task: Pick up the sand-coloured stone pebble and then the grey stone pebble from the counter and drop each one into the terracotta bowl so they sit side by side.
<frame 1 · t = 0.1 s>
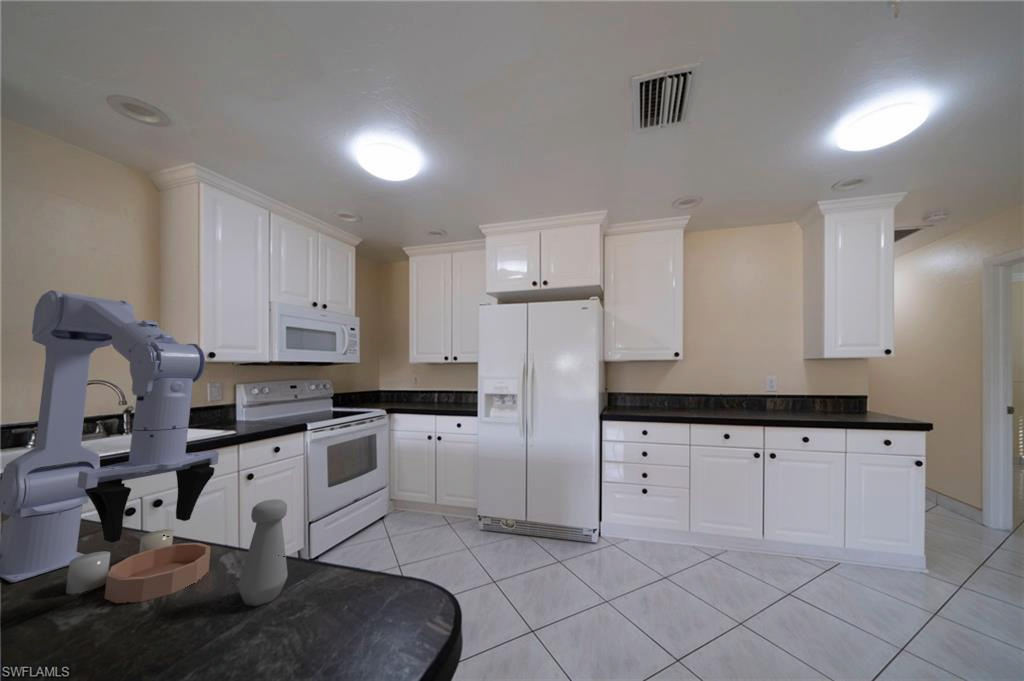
hand: (149, 529, 51), 10 cm above the countertop, tool pointing down, fingers open, 7 cm apart
bowl: (160, 580, 56), on the countertop
salt shaker: (262, 598, 52), on the countertop
pebble b: (86, 586, 54), on the countertop
pebble a: (154, 558, 63), on the countertop
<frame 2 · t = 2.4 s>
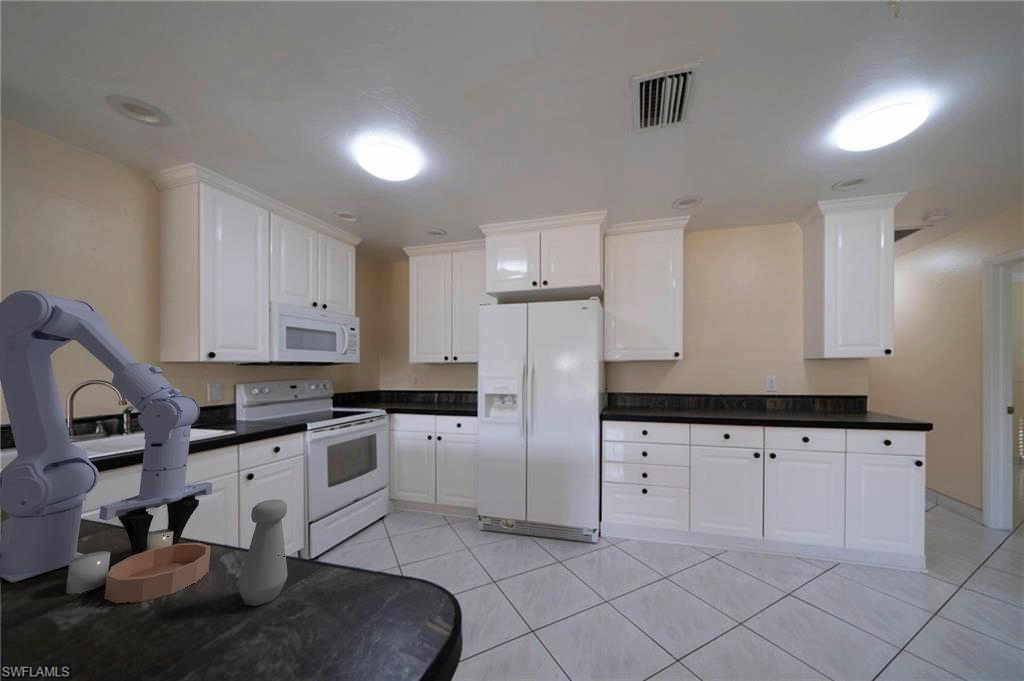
hand: (155, 549, 63), 1 cm above the countertop, tool pointing down, fingers closed on pebble a, 4 cm apart
pebble a: (155, 558, 63), on the countertop, touching gripper
everything else where it was.
when the fingers open (4 cm above the countertop, at t = 5.3 s): pebble a drops 2 cm, resting on bowl.
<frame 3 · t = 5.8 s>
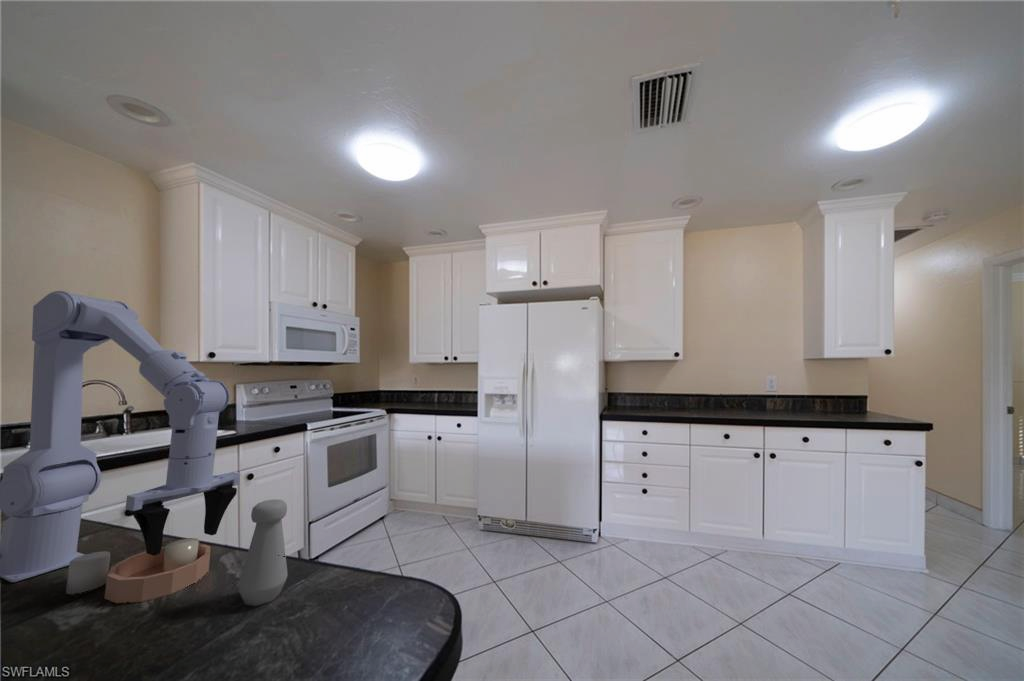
hand: (183, 543, 59), 4 cm above the countertop, tool pointing down, fingers open, 7 cm apart
pebble a: (179, 570, 58), resting on bowl
everything else where it was.
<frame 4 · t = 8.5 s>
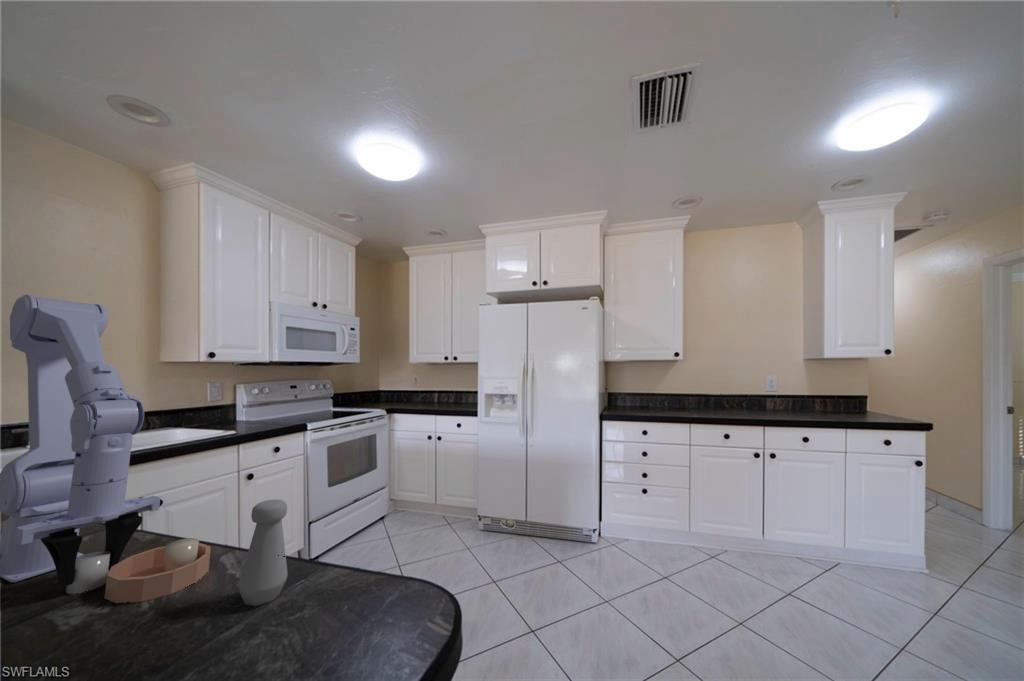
hand: (88, 575, 54), 1 cm above the countertop, tool pointing down, fingers closed on pebble b, 4 cm apart
pebble b: (87, 586, 54), on the countertop, touching gripper
everything else where it was.
when the fingers open (4 cm above the countertop, at t = 11.3 s): pebble b drops 3 cm, resting on bowl.
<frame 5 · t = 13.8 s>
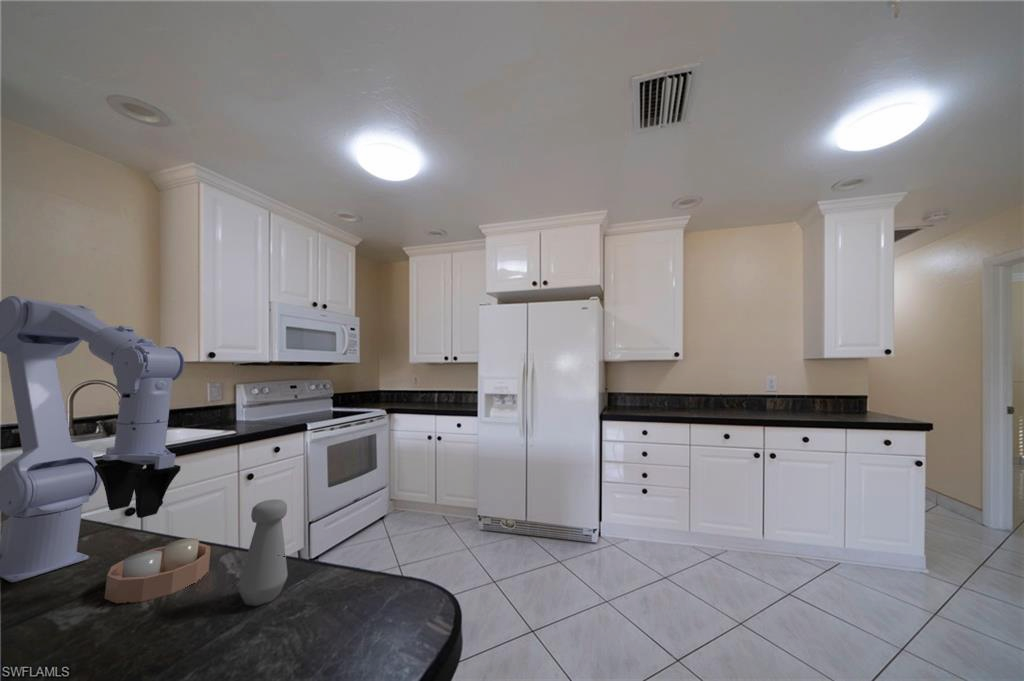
hand: (132, 511, 57), 10 cm above the countertop, tool pointing down, fingers open, 7 cm apart
pebble b: (139, 585, 54), resting on bowl
everything else where it was.
at the end: pebble a inside the target area on the bowl (2.4 cm from its centre), point 0.4 cm above the bowl's base; pebble b inside the target area on the bowl (2.5 cm from its centre), point 0.4 cm above the bowl's base; salt shaker moved 0.2 cm from its start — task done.
